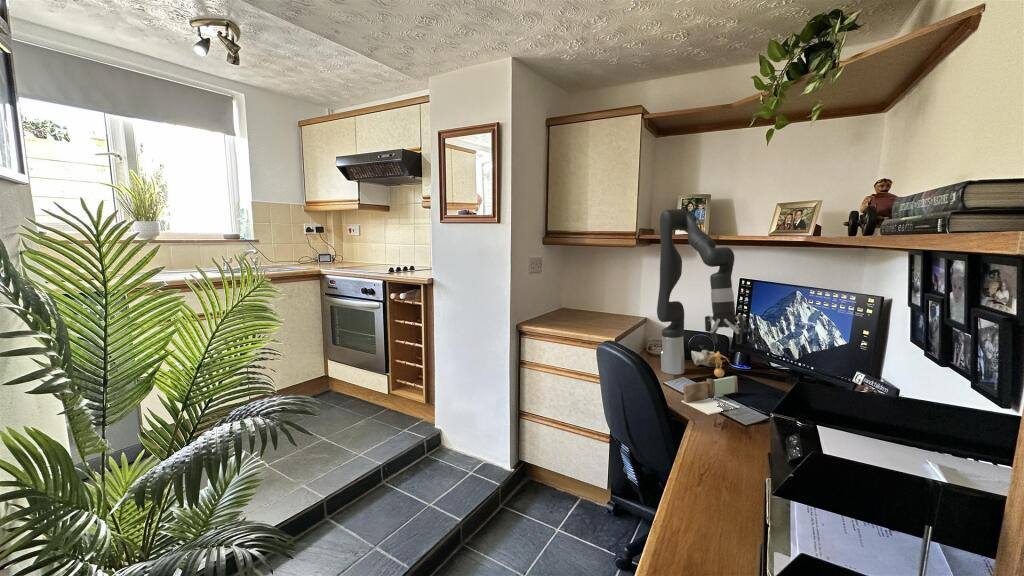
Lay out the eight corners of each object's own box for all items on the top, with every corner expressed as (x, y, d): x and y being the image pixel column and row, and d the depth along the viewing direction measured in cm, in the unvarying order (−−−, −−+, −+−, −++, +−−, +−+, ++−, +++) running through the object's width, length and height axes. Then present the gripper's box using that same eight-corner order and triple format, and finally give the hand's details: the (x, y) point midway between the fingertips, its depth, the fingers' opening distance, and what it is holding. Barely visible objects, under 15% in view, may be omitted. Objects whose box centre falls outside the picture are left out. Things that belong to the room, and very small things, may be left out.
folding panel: (715, 396, 148) (715, 381, 148) (712, 395, 150) (711, 379, 149) (738, 391, 151) (738, 376, 151) (734, 390, 153) (734, 375, 152)
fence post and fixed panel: (687, 404, 144) (686, 385, 144) (683, 402, 147) (682, 383, 146) (715, 398, 148) (714, 379, 147) (710, 396, 150) (710, 378, 150)
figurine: (730, 376, 171) (729, 349, 170) (729, 380, 166) (728, 353, 165) (709, 374, 176) (708, 348, 175) (707, 378, 170) (707, 351, 170)
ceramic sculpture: (692, 344, 196) (726, 348, 188) (692, 361, 197) (725, 365, 189) (689, 350, 187) (725, 353, 179) (689, 367, 188) (724, 372, 180)
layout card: (708, 414, 134) (708, 413, 134) (681, 401, 147) (681, 400, 147) (740, 408, 138) (739, 406, 138) (710, 395, 151) (710, 394, 151)
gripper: (747, 298, 143) (751, 342, 143) (709, 300, 155) (713, 341, 155) (737, 300, 139) (742, 346, 139) (699, 301, 150) (703, 343, 150)
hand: (726, 343), depth 147 cm, fingers open, 8 cm apart
